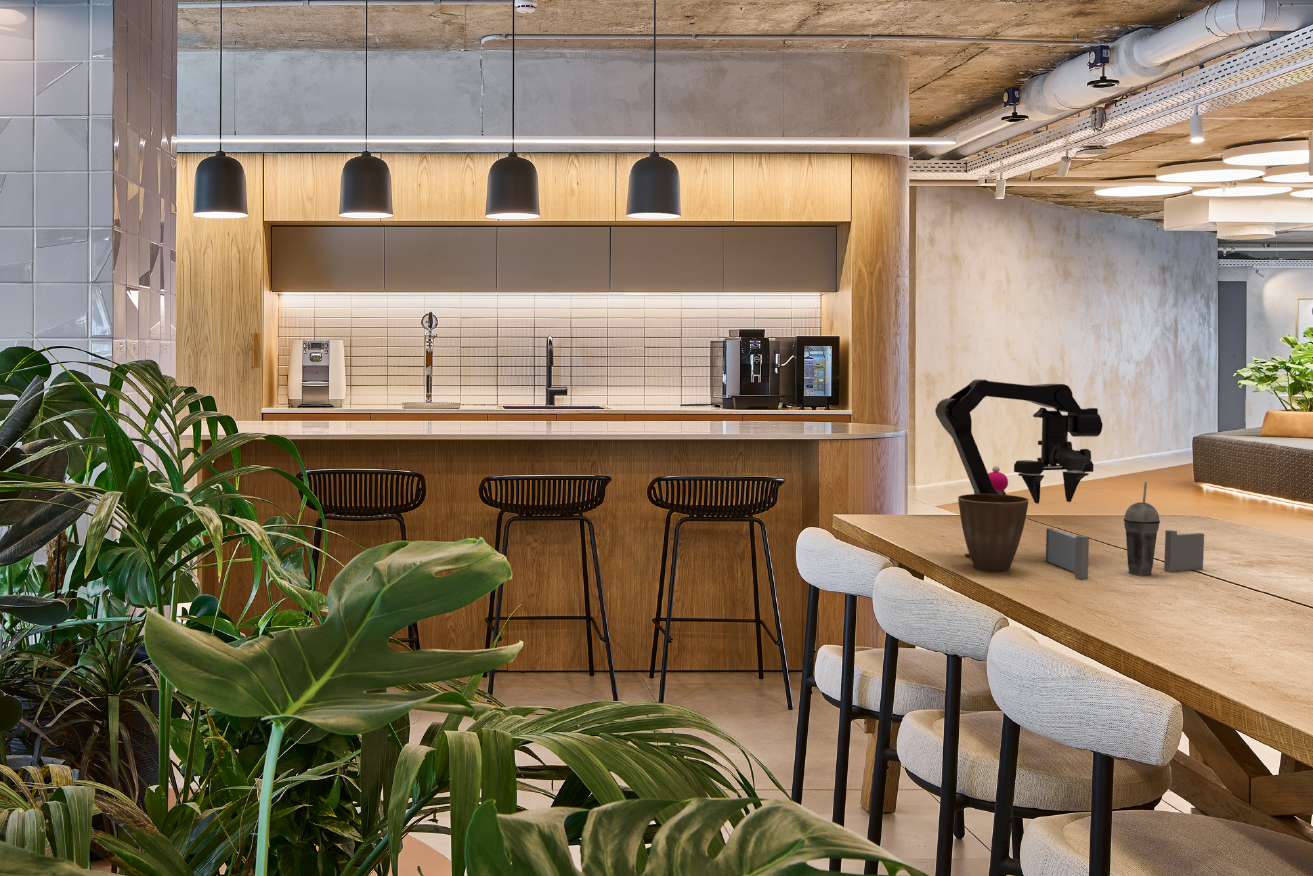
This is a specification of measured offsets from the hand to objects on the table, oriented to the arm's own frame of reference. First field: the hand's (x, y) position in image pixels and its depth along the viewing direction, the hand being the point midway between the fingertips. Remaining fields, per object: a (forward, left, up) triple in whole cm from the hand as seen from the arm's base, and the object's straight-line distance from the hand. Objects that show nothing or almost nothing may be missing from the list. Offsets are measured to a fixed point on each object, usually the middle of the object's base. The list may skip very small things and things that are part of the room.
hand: (1052, 502), depth 240 cm
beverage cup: (+5, -22, -13) cm, 26 cm away
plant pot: (-23, -8, -13) cm, 28 cm away
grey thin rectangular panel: (-7, -13, -13) cm, 20 cm away
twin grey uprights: (+5, -23, -13) cm, 26 cm away
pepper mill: (-1, +20, -13) cm, 24 cm away
